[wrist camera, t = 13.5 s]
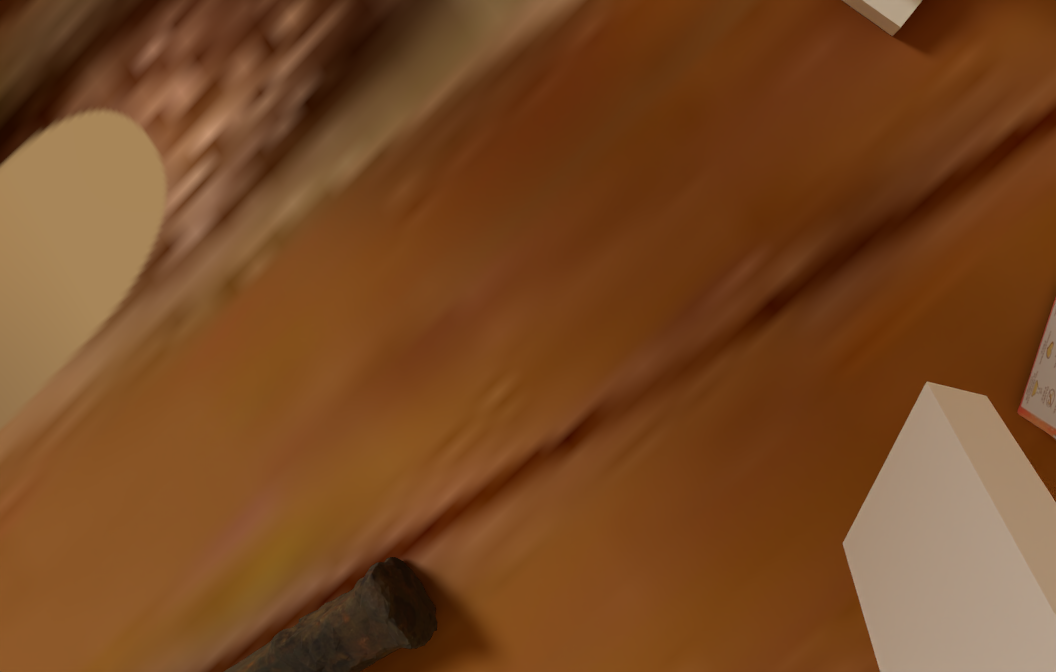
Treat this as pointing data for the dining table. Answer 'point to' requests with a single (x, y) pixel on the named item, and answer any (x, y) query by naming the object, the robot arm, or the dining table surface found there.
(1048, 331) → the cracker box
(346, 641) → the hand tool
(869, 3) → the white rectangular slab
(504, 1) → the dining table surface
